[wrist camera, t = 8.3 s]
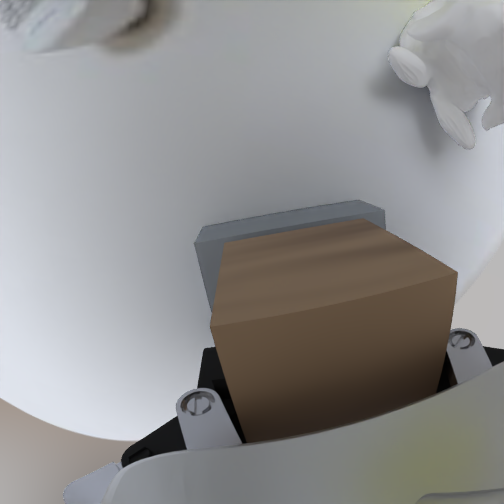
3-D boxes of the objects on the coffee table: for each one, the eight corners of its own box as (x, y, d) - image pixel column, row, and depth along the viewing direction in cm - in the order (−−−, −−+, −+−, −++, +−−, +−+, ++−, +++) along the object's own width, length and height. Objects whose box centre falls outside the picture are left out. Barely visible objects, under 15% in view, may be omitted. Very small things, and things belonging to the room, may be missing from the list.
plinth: (202, 226, 15) (194, 243, 12) (358, 199, 15) (384, 210, 12) (234, 357, 17) (234, 391, 14) (365, 331, 17) (383, 360, 14)
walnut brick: (224, 242, 11) (209, 327, 6) (363, 218, 11) (457, 272, 6) (259, 396, 14) (268, 499, 8) (365, 373, 14) (411, 463, 8)
